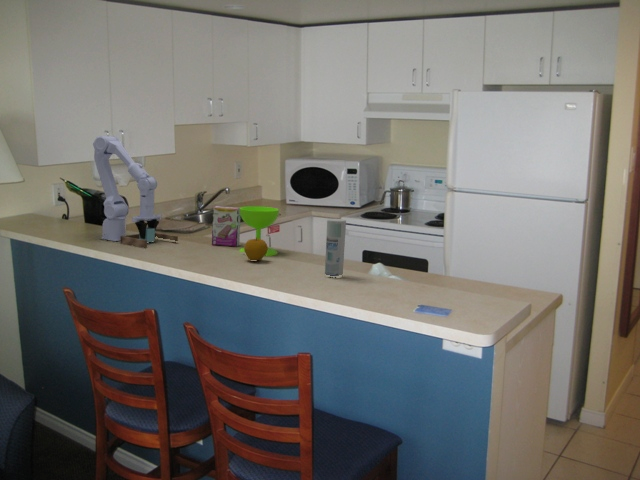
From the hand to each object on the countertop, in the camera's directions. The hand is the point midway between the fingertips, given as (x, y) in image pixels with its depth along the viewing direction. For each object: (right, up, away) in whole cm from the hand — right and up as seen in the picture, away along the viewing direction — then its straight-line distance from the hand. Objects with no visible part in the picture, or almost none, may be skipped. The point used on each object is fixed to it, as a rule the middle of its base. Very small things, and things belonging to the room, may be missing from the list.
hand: (146, 237), depth 280 cm
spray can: (+78, -14, -48) cm, 93 cm away
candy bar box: (+33, -3, +4) cm, 33 cm away
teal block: (0, -2, 0) cm, 2 cm away
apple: (+48, -9, -28) cm, 57 cm away
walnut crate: (+1, -2, 0) cm, 3 cm away
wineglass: (+48, -6, -9) cm, 49 cm away
